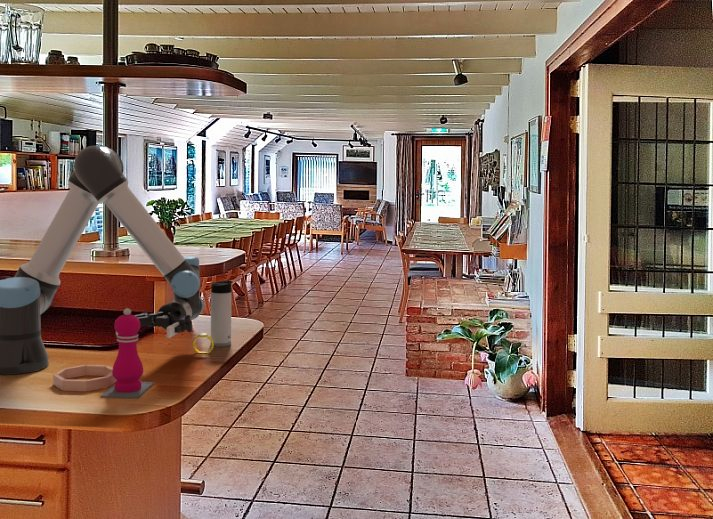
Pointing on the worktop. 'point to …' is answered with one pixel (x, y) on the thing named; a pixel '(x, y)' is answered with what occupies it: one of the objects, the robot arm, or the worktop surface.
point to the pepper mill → (127, 354)
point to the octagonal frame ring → (84, 385)
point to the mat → (132, 395)
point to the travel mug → (221, 313)
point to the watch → (203, 336)
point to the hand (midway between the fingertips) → (142, 331)
